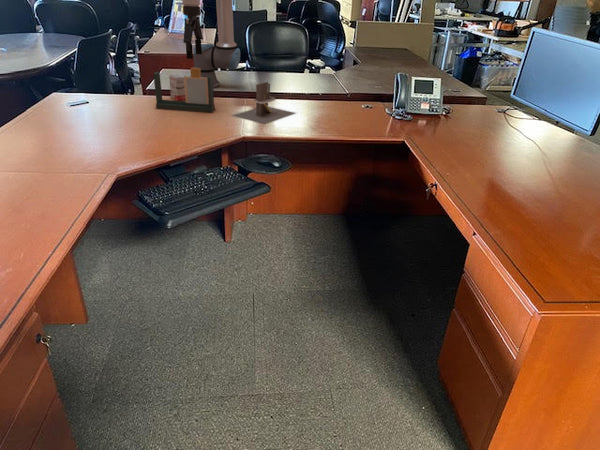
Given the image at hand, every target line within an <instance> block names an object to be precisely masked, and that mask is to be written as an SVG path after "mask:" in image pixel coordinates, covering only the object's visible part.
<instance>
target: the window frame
mask: <svg viewBox="0 0 600 450" xmlns="http://www.w3.org/2000/svg"><path fill="white" fill-rule="evenodd" d="M152 75H153V82H154V92H155V100H156V101H155V102H156V103H155V108H156V110H166V111H168V110H169V111H180V112H194V113H208V114H212V113H213V112H215V110H216V105H215V95H214V88H213V76H209V77H207V79H208V98H209V104H196V103H186V100H181V101H177V100H174V99H163V92H162V83H161V82H162V81H161V73H160V71H156V72H154V73H153V74H152Z"/></svg>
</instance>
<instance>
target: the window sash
mask: <svg viewBox="0 0 600 450" xmlns="http://www.w3.org/2000/svg"><path fill="white" fill-rule="evenodd" d="M183 77H184V86H185V99H186V100H185V101H186V103H196V104H209V98H208V79H207V78H205V77H201V69H200V68H194V67H190V76H189V75H183Z"/></svg>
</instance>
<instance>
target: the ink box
mask: <svg viewBox="0 0 600 450" xmlns="http://www.w3.org/2000/svg"><path fill="white" fill-rule="evenodd" d="M168 78H169V89H170V98H171V99H172V100H174V101H186V99H185V86H184V76H182V75H180V74H169V76H168Z"/></svg>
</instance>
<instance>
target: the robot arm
mask: <svg viewBox="0 0 600 450" xmlns="http://www.w3.org/2000/svg"><path fill="white" fill-rule="evenodd" d="M182 5H183V6H182V14H183V15H184V16H187V17H186V18H184V28H183V30H184V31H183V44H185V54H186V60H187V59H188V60H193V68H200V69H201V77H205V78H207V77H209V76H213V89H215V88H218V87H219V85H220V82H219V81H218V78H217V74H216V69H219V70H229V71H230V70H236V69H238V67H239V65H240V62H241V49H240V48H239V47H238V44H237V43H236V42H235V37H234V36H235V35H234V33H235V32H234V12H233V10H234V9H233V0H215V5H216V20H217V21H216V22H217V38H218V41H217V42H216V43H215V45H214V43H202V40H203V39H204V37H203V31H202V27H201V20H200V16H201V7H200V6H201V0H182ZM193 35H194V37H195V38H194V43H195V44H194V45H195V46H193V43H192V40H193Z"/></svg>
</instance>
